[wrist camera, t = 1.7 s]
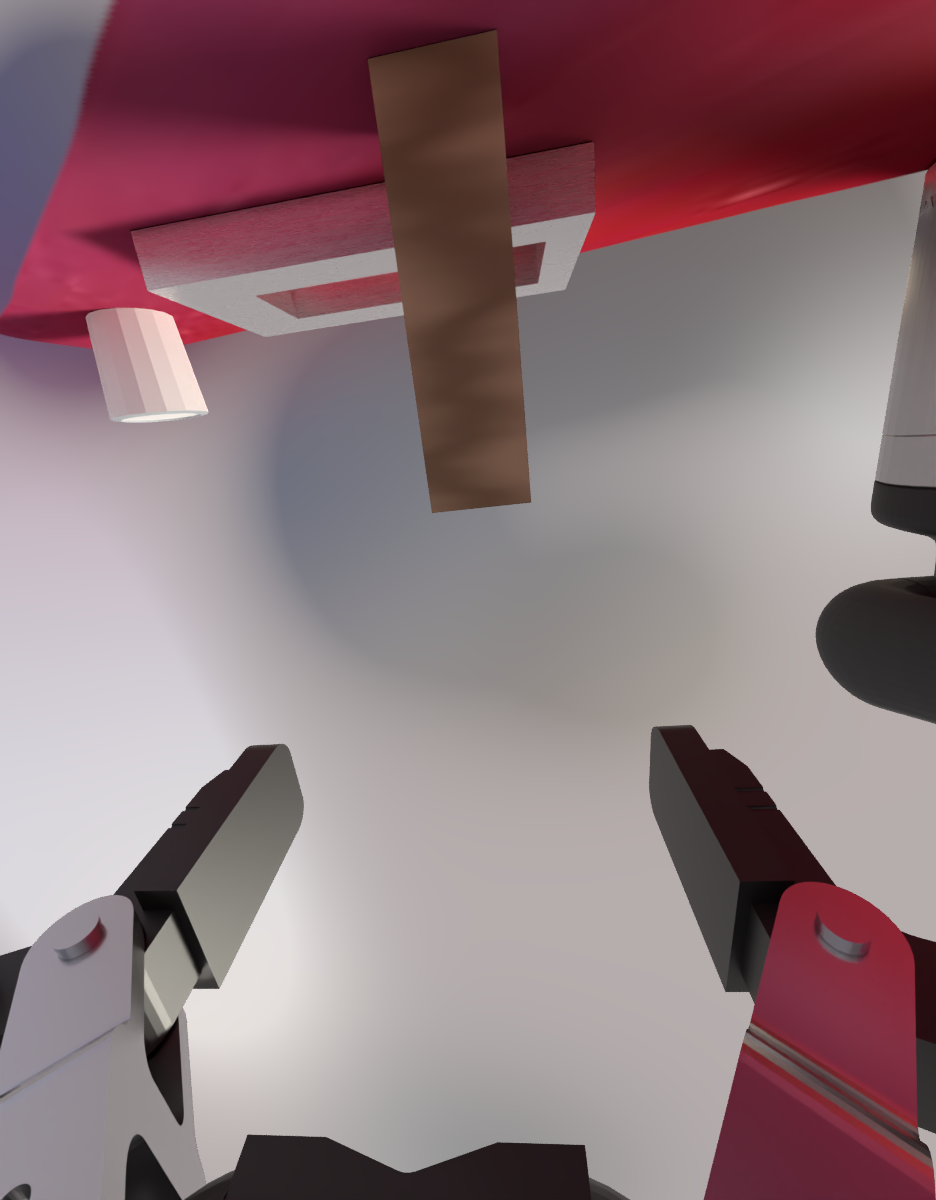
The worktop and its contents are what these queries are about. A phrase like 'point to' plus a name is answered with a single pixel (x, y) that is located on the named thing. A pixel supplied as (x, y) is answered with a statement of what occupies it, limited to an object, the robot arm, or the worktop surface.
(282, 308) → the keyhole plate
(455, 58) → the walnut post
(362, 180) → the worktop surface
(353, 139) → the worktop surface
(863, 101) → the worktop surface
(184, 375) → the white tapered cup
